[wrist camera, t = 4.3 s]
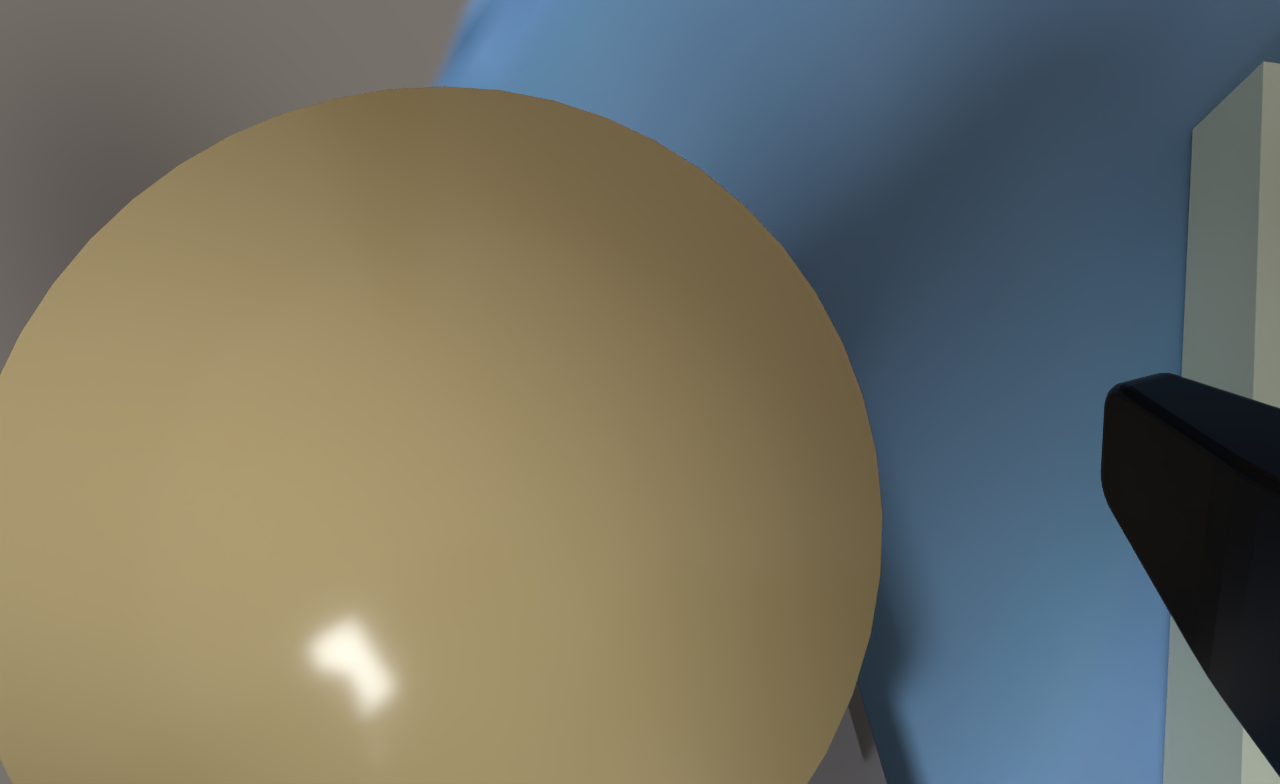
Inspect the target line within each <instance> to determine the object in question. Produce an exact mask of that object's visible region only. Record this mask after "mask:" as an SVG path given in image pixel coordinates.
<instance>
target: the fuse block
mask: <svg viewBox="0 0 1280 784" xmlns="http://www.w3.org/2000/svg"><path fill="white" fill-rule="evenodd" d="M807 784H887V782H886V779H885V776H884V772H883V769H882V765H881V762H880V758H879V755H878V751H877V748H876V745H875V741H874V738H873V734H872V731H871V727H870V724H869V721H868V717H867V714H866V710H865V707H864V703H863V700H862V696H861V693H860V690H859V686H858V683H857V682H856V685H855V689H854V692H853V695H852V697H851V700H850V702H849V704H848V706H847V708H846V711H845V713H844V715H843V717H842V720H841V722H840V724H839V726H838V728H837V731H836V733H835V735H834V737H833V739H832V742H831V744H830V746H829V748H828V751H827V753H826V755H825V756H824V758H823V759H822V761H821V763H820V764H819V766H818V767H817V769H816V771H815V772H814V774H813V775H812V777H811V779H810V780H809V782H808V783H807Z"/></svg>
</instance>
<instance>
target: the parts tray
mask: <svg viewBox="0 0 1280 784" xmlns="http://www.w3.org/2000/svg"><path fill="white" fill-rule="evenodd" d="M1181 377H1184V378H1187V379H1190V380H1194V381H1197V382H1200V383H1203V384H1206V385H1209V386H1212V387H1215V388H1218V389H1222V390H1225V391H1228V392H1231V393H1234V394H1237V395H1240V396H1243V397H1247V398H1250V399H1253V400H1256V401H1259V402H1262V403H1265V404H1268V405H1271V406H1275V407H1278V408H1280V64H1279V63H1272V62H1264V61H1263V62H1262V63H1261V64H1260V65H1259V66H1258V67H1257V68H1256V69H1255V70H1254V71H1253V72H1252V73H1251V74H1250V75H1249V76H1248V77H1247V78H1246V79H1245V80H1244V81H1243V82H1242V83H1241V84H1239V85H1238V86H1237V87H1236V88H1235V89H1234V90H1233V91H1232V92H1231V93H1230V94H1229V95H1228V96H1227V97H1226V98H1225V99H1224V100H1223V101H1222V102H1221V103H1220V104H1219V105H1218V106H1217V107H1216V108H1214V109H1213V110H1212V111H1211V112H1210V113H1209V114H1208V115H1207V116H1206V117H1205V118H1204V119H1203V120H1202V121H1201V122H1200V123H1199V124H1198V125H1197V126H1196V127H1195V128H1194V129H1193V135H1192V157H1191V179H1190V201H1189V223H1188V244H1187V266H1186V288H1185V310H1184V332H1183V354H1182V376H1181ZM1163 784H1280V777H1279V776H1278V774H1277V773H1276V772H1275V770H1274V769H1273V768H1272V766H1271V765H1270V763H1269V762H1268V761H1267V759H1266V758H1265V757H1264V755H1263V754H1262V752H1261V751H1260V750H1259V748H1258V747H1257V746H1256V744H1255V743H1254V742H1253V740H1252V739H1251V737H1250V736H1249V735H1248V733H1247V732H1246V731H1245V729H1244V728H1243V726H1242V725H1241V724H1240V722H1239V721H1238V720H1237V718H1236V717H1235V716H1234V714H1233V713H1232V711H1231V710H1230V709H1229V707H1228V706H1227V704H1226V703H1225V702H1224V700H1223V699H1222V697H1221V696H1220V694H1219V693H1218V691H1217V690H1216V689H1215V687H1214V686H1213V684H1212V683H1211V681H1210V680H1209V679H1208V677H1207V675H1206V674H1205V672H1204V670H1203V669H1202V667H1201V666H1200V664H1199V662H1198V661H1197V659H1196V657H1195V656H1194V654H1193V652H1192V651H1191V649H1190V647H1189V646H1188V644H1187V642H1186V640H1185V639H1184V637H1183V635H1182V633H1181V632H1180V630H1179V628H1178V627H1177V625H1176V623H1175V621H1174V620H1173V618H1172V616H1170V638H1169V660H1168V682H1167V704H1166V726H1165V748H1164V770H1163Z"/></svg>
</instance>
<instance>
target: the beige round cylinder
mask: <svg viewBox="0 0 1280 784" xmlns="http://www.w3.org/2000/svg"><path fill="white" fill-rule="evenodd" d="M881 545H882V503H881V493H880V484H879V474H878V464H877V454H876V449H875V445H874V441H873V437H872V433H871V428H870V424H869V420H868V416H867V411H866V407H865V403H864V399H863V395H862V392H861V390H860V387H859V385H858V382H857V379H856V377H855V374H854V371H853V369H852V366H851V363H850V361H849V358H848V356H847V353H846V350H845V348H844V345H843V342H842V340H841V339H840V337H839V335H838V333H837V331H836V329H835V327H834V326H833V324H832V322H831V320H830V318H829V316H828V314H827V313H826V311H825V309H824V307H823V305H822V303H821V301H820V300H819V298H818V296H817V294H816V292H815V291H814V289H813V288H812V286H811V285H810V284H809V282H808V281H807V280H806V278H805V277H804V275H803V274H802V273H801V271H800V270H799V268H798V267H797V266H796V264H795V263H794V261H793V260H792V259H791V257H790V256H789V254H788V253H787V252H786V250H785V249H784V248H783V246H782V245H781V244H780V243H779V242H778V241H777V240H776V239H775V238H774V237H773V235H772V234H771V233H770V232H769V231H768V230H767V229H766V228H765V227H764V226H763V225H762V224H761V223H760V222H759V220H758V219H757V218H756V217H755V216H754V215H753V214H752V213H751V212H750V211H749V210H748V209H747V208H746V207H745V206H744V205H743V204H742V203H741V202H740V201H738V200H737V199H736V198H735V197H734V196H732V195H731V194H730V193H729V192H728V191H726V190H725V189H724V188H723V187H721V186H720V185H719V184H718V183H717V182H715V181H714V180H713V179H712V178H711V177H709V176H708V175H707V174H706V173H705V172H703V171H702V170H701V169H699V168H697V167H696V166H694V165H693V164H691V163H690V162H688V161H686V160H685V159H683V158H682V157H680V156H678V155H677V154H675V153H674V152H672V151H671V150H669V149H667V148H666V147H664V146H663V145H661V144H659V143H658V142H656V141H654V140H652V139H650V138H648V137H646V136H644V135H642V134H640V133H637V132H635V131H633V130H631V129H629V128H627V127H625V126H622V125H620V124H618V123H616V122H614V121H612V120H610V119H608V118H605V117H602V116H599V115H596V114H593V113H590V112H587V111H584V110H581V109H578V108H574V107H571V106H568V105H565V104H562V103H559V102H556V101H552V100H547V99H542V98H537V97H532V96H527V95H521V94H516V93H511V92H506V91H501V90H488V89H474V88H460V87H445V86H444V87H424V88H405V89H388V90H382V91H376V92H370V93H364V94H359V95H353V96H347V97H341V98H335V99H332V100H329V101H325V102H321V103H318V104H315V105H312V106H308V107H304V108H301V109H298V110H294V111H291V112H288V113H284V114H281V115H278V116H276V117H274V118H271V119H269V120H267V121H264V122H262V123H260V124H257V125H255V126H253V127H250V128H248V129H246V130H243V131H241V132H238V133H236V134H234V135H231V136H229V137H227V138H226V139H224V140H222V141H220V142H219V143H217V144H215V145H213V146H212V147H210V148H208V149H207V150H205V151H203V152H201V153H199V154H198V155H196V156H194V157H192V158H191V159H189V160H187V161H186V162H184V163H182V164H180V165H179V166H177V167H176V168H175V169H173V170H172V171H171V172H169V173H168V174H167V175H165V176H164V177H162V178H161V179H160V180H158V181H157V182H156V183H154V184H153V185H152V186H150V187H149V188H148V189H146V190H145V191H144V192H142V193H141V194H140V195H138V196H137V197H135V198H134V199H133V200H132V201H131V202H130V203H129V204H128V205H126V207H124V208H123V209H122V210H121V211H120V212H119V213H118V214H117V215H116V216H115V217H114V218H113V219H112V220H110V221H109V222H108V223H107V224H106V225H105V226H104V227H103V228H102V229H101V230H100V231H99V232H98V233H97V234H96V235H95V236H93V237H92V238H91V239H90V241H89V242H88V243H87V244H86V245H85V247H84V248H83V249H82V250H81V251H80V253H79V254H78V255H77V256H76V257H75V259H74V260H73V261H72V262H71V263H70V264H69V266H68V267H67V268H66V269H65V270H64V272H63V273H62V274H61V275H60V276H59V277H58V279H57V280H56V281H55V282H54V284H53V285H52V286H51V288H50V289H49V291H48V293H47V294H46V296H45V297H44V299H43V300H42V302H41V303H40V305H39V306H38V308H37V310H36V311H35V312H34V314H33V316H32V317H31V319H30V320H29V322H28V323H27V325H26V326H25V328H24V329H23V331H22V332H21V334H20V336H19V338H18V340H17V342H16V344H15V346H14V348H13V351H12V352H11V354H10V356H9V359H8V361H7V363H6V365H5V367H4V369H3V371H2V373H1V375H0V760H1V762H2V764H3V766H4V768H5V770H6V772H7V774H8V776H9V778H10V780H11V782H12V784H807V783H808V782H809V780H810V779H811V777H812V775H813V774H814V772H815V771H816V769H817V767H818V766H819V764H820V763H821V761H822V759H823V758H824V756H825V755H826V753H827V751H828V748H829V746H830V744H831V742H832V739H833V737H834V735H835V733H836V731H837V728H838V726H839V724H840V722H841V720H842V717H843V715H844V713H845V711H846V708H847V706H848V704H849V702H850V700H851V697H852V695H853V692H854V689H855V685H856V682H857V679H858V675H859V672H860V669H861V665H862V662H863V659H864V655H865V652H866V649H867V645H868V642H869V639H870V635H871V630H872V624H873V618H874V611H875V605H876V599H877V593H878V587H879V581H880V574H881Z"/></svg>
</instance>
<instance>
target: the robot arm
mask: <svg viewBox="0 0 1280 784" xmlns="http://www.w3.org/2000/svg"><path fill="white" fill-rule="evenodd" d="M1101 482H1102V488H1103V492H1104V495H1105V498H1106V501H1107V503H1108V505H1109V507H1110V509H1111V511H1112V513H1113V515H1114V516H1115V518H1116V520H1117V522H1118V523H1119V525H1120V527H1121V529H1122V530H1123V532H1124V534H1125V536H1126V537H1127V539H1128V541H1129V543H1130V544H1131V546H1132V548H1133V550H1134V551H1135V553H1136V555H1137V557H1138V558H1139V560H1140V562H1141V564H1142V565H1143V567H1144V569H1145V571H1146V572H1147V574H1148V576H1149V578H1150V579H1151V581H1152V583H1153V585H1154V586H1155V588H1156V590H1157V592H1158V593H1159V595H1160V597H1161V599H1162V600H1163V602H1164V604H1165V606H1166V607H1167V609H1168V611H1169V613H1170V614H1171V616H1172V618H1173V620H1174V621H1175V623H1176V625H1177V627H1178V628H1179V630H1180V632H1181V633H1182V635H1183V637H1184V639H1185V640H1186V642H1187V644H1188V646H1189V647H1190V649H1191V651H1192V652H1193V654H1194V656H1195V657H1196V659H1197V661H1198V662H1199V664H1200V666H1201V667H1202V669H1203V670H1204V672H1205V674H1206V675H1207V677H1208V679H1209V680H1210V681H1211V683H1212V684H1213V686H1214V687H1215V689H1216V690H1217V691H1218V693H1219V694H1220V696H1221V697H1222V699H1223V700H1224V702H1225V703H1226V704H1227V706H1228V707H1229V709H1230V710H1231V711H1232V713H1233V714H1234V716H1235V717H1236V718H1237V720H1238V721H1239V722H1240V724H1241V725H1242V726H1243V728H1244V729H1245V731H1246V732H1247V733H1248V735H1249V736H1250V737H1251V739H1252V740H1253V742H1254V743H1255V744H1256V746H1257V747H1258V748H1259V750H1260V751H1261V752H1262V754H1263V755H1264V757H1265V758H1266V759H1267V761H1268V762H1269V763H1270V765H1271V766H1272V768H1273V769H1274V770H1275V772H1276V773H1277V774H1278V776H1279V777H1280V408H1278V407H1275V406H1271V405H1268V404H1265V403H1262V402H1259V401H1256V400H1253V399H1250V398H1247V397H1243V396H1240V395H1237V394H1234V393H1231V392H1228V391H1225V390H1222V389H1218V388H1215V387H1212V386H1209V385H1206V384H1203V383H1200V382H1197V381H1194V380H1190V379H1187V378H1184V377H1181V376H1178V375H1175V374H1171V373H1159V374H1154V375H1150V376H1146V377H1142V378H1138V379H1134V380H1131V381H1127V382H1123V383H1119V384H1117V385H1115V386H1114V387H1113V388H1112V389H1111V390H1110V391H1109V392H1108V395H1107V397H1106V400H1105V406H1104V423H1103V442H1102V460H1101Z"/></svg>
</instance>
